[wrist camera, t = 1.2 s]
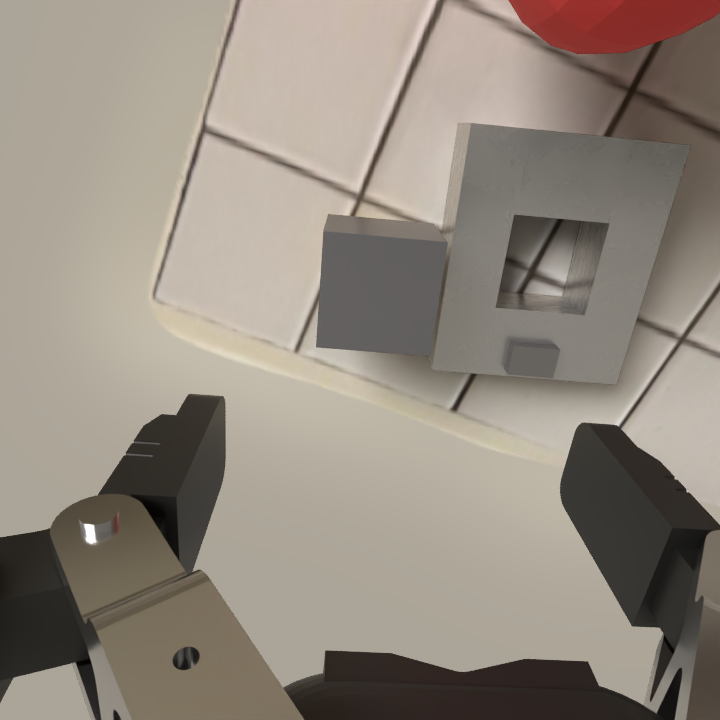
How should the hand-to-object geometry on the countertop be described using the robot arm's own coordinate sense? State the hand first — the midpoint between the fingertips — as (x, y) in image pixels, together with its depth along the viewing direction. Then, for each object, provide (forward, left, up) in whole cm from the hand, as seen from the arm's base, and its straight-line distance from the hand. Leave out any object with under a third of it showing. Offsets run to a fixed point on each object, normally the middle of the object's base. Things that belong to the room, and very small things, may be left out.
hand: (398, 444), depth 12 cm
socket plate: (-9, -1, -19) cm, 21 cm away
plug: (0, 0, -19) cm, 19 cm away
